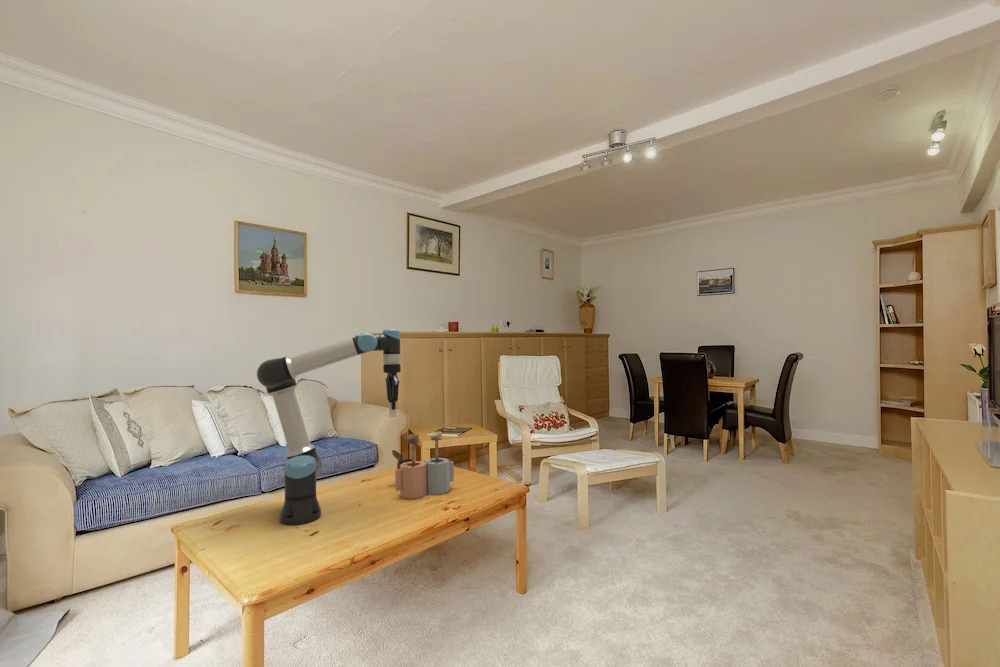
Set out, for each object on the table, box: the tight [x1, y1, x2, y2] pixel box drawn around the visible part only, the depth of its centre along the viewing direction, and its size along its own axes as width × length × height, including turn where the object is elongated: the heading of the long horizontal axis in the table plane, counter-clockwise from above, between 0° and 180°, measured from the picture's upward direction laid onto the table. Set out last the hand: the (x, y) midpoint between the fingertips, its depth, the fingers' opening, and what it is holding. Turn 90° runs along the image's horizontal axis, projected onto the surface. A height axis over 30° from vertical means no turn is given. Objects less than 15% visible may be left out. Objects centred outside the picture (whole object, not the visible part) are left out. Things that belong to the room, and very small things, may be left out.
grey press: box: [423, 457, 455, 496], centre depth 223 cm, size 14×11×14 cm
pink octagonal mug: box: [394, 460, 428, 500], centre depth 216 cm, size 14×11×14 cm
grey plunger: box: [430, 431, 443, 463], centre depth 222 cm, size 5×5×16 cm
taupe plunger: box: [406, 433, 420, 466], centre depth 217 cm, size 5×5×16 cm
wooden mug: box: [391, 449, 412, 470], centre depth 234 cm, size 9×14×18 cm, turn 142°
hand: (392, 416), depth 212 cm, fingers closed
